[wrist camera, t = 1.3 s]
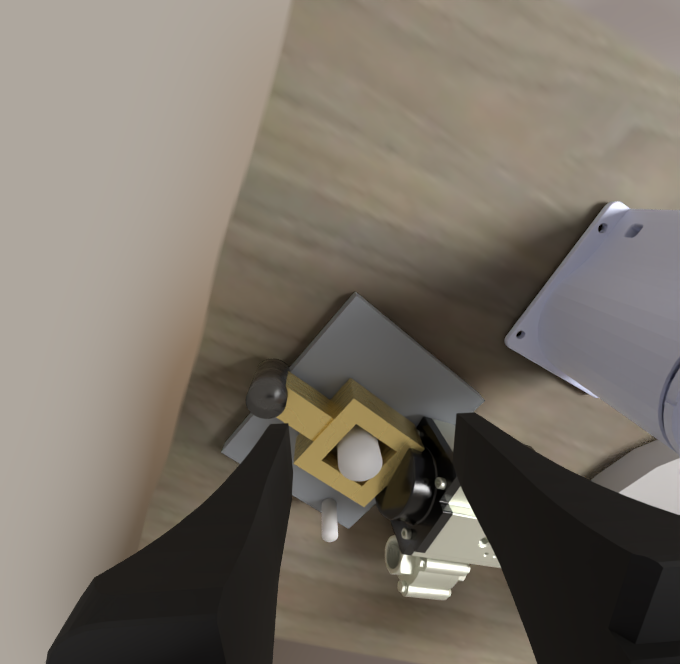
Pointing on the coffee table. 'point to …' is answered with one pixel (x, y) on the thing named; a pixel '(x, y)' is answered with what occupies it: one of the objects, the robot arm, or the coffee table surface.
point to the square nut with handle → (331, 426)
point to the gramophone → (646, 476)
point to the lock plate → (377, 377)
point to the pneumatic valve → (431, 519)
